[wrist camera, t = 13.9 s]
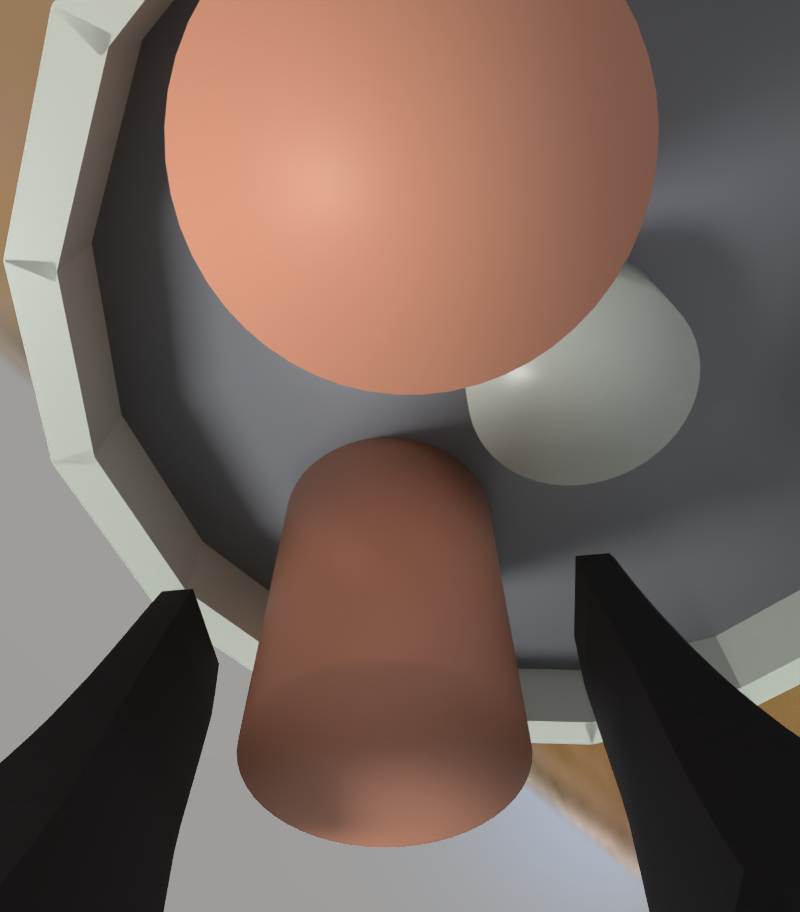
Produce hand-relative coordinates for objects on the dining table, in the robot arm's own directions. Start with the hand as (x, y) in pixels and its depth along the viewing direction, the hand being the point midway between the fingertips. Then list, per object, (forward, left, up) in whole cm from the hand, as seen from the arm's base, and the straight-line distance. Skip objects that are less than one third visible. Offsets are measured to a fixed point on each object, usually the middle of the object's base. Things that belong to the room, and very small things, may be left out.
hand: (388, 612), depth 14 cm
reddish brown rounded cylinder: (0, 0, -3) cm, 3 cm away
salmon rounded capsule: (+3, -8, -3) cm, 9 cm away
